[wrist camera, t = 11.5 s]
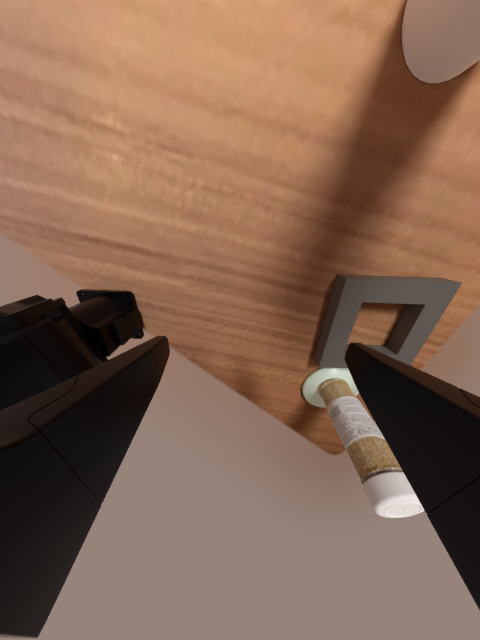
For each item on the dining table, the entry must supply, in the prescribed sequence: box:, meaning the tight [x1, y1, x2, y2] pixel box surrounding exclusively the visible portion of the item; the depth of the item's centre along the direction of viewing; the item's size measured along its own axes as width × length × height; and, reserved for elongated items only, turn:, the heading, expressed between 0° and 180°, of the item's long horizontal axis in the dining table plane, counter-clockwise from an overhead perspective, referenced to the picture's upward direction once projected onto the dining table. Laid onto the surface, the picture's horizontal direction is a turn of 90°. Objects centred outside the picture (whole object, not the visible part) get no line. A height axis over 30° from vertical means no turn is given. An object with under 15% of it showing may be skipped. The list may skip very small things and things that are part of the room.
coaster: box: [302, 368, 359, 408], centre depth 28 cm, size 9×9×1 cm
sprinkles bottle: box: [319, 378, 424, 518], centre depth 21 cm, size 5×5×13 cm
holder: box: [314, 274, 462, 368], centre depth 22 cm, size 12×12×2 cm
